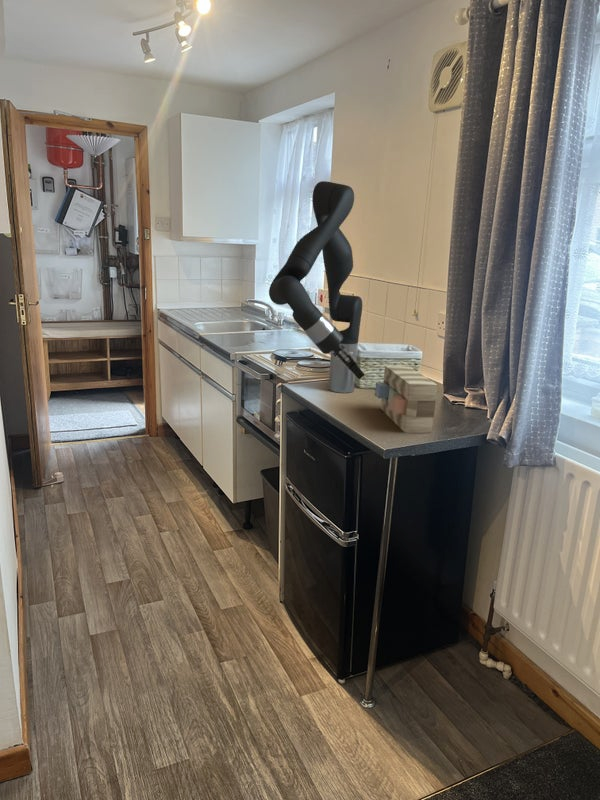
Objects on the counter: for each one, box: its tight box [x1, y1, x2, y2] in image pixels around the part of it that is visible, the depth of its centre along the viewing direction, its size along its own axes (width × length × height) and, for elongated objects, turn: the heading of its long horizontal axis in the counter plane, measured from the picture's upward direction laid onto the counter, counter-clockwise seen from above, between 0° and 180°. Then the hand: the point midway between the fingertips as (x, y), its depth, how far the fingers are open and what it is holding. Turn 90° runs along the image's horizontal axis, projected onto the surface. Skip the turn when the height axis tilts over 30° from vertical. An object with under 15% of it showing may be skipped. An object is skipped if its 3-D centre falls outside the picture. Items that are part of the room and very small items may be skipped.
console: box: [380, 366, 438, 434], centre depth 175 cm, size 24×8×14 cm, turn 8°
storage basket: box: [355, 342, 423, 390], centre depth 218 cm, size 24×16×15 cm
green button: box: [388, 389, 398, 403], centre depth 174 cm, size 4×3×4 cm
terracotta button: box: [390, 396, 406, 414], centre depth 166 cm, size 4×3×4 cm
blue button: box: [374, 383, 389, 399], centre depth 182 cm, size 4×3×4 cm
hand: (361, 376), depth 172 cm, fingers closed
